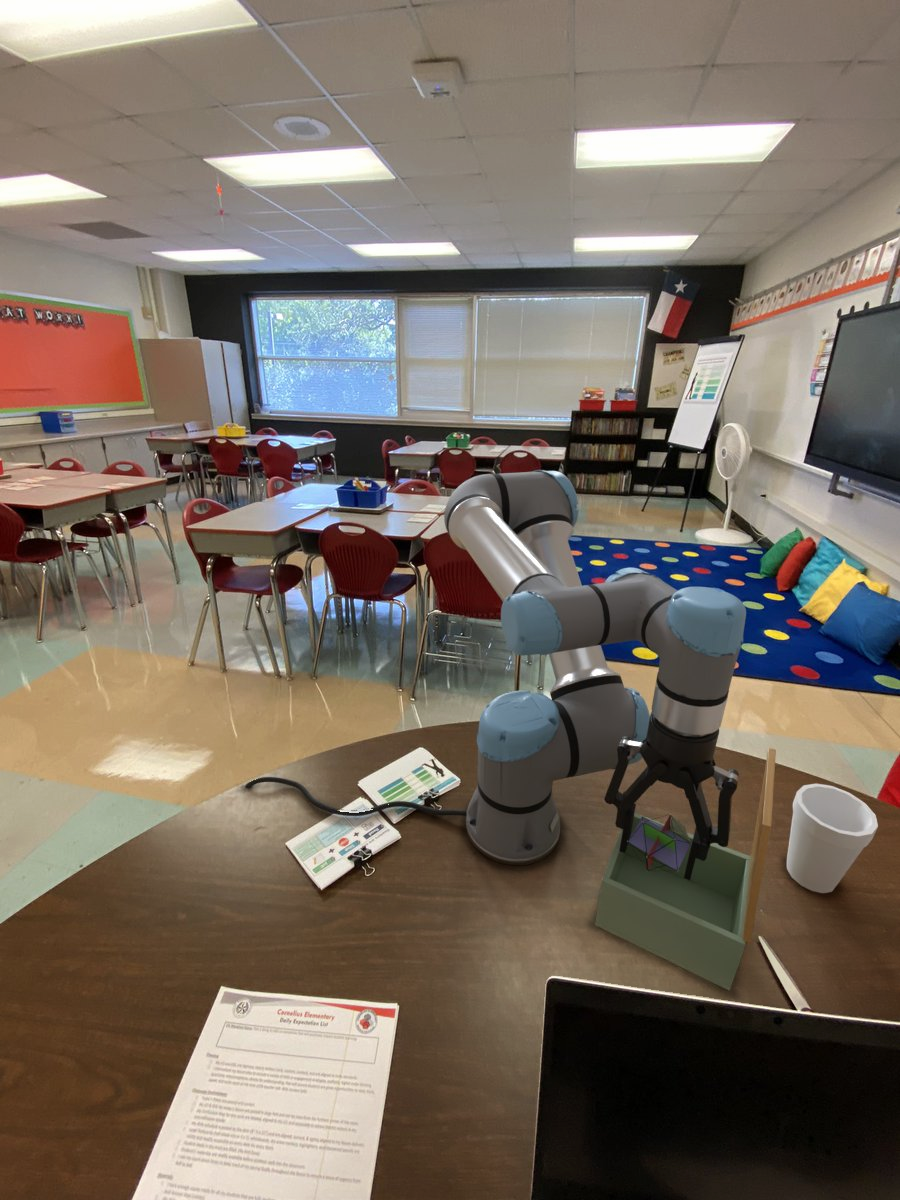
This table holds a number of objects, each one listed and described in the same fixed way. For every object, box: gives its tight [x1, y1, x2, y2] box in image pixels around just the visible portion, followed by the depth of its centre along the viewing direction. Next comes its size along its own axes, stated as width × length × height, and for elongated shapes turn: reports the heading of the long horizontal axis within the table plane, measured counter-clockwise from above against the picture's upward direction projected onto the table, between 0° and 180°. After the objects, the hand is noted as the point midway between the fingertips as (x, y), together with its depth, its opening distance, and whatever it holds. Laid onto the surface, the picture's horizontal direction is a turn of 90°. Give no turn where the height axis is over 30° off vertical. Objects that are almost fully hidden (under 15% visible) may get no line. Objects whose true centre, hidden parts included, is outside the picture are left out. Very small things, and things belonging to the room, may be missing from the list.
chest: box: [594, 812, 751, 992], centre depth 73 cm, size 17×14×9 cm
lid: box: [743, 747, 777, 944], centre depth 64 cm, size 17×14×1 cm
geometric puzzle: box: [627, 813, 692, 871], centre depth 71 cm, size 7×7×8 cm
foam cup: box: [786, 782, 879, 894], centre depth 77 cm, size 10×9×13 cm
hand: (655, 857), depth 72 cm, fingers closed on geometric puzzle, 7 cm apart
